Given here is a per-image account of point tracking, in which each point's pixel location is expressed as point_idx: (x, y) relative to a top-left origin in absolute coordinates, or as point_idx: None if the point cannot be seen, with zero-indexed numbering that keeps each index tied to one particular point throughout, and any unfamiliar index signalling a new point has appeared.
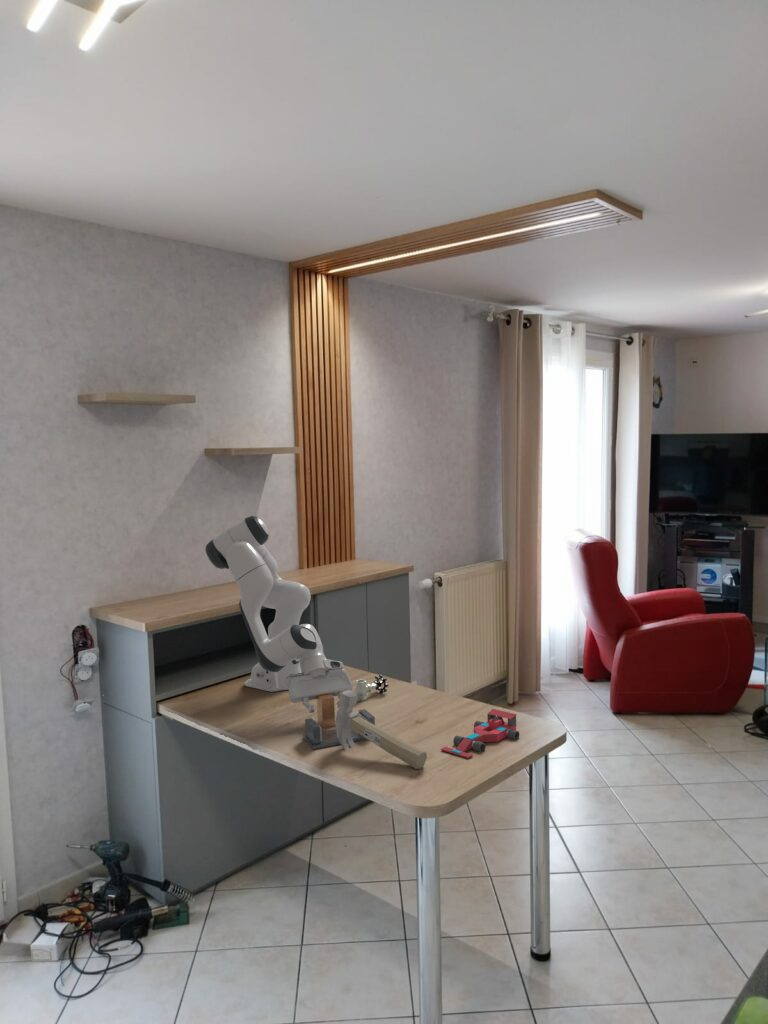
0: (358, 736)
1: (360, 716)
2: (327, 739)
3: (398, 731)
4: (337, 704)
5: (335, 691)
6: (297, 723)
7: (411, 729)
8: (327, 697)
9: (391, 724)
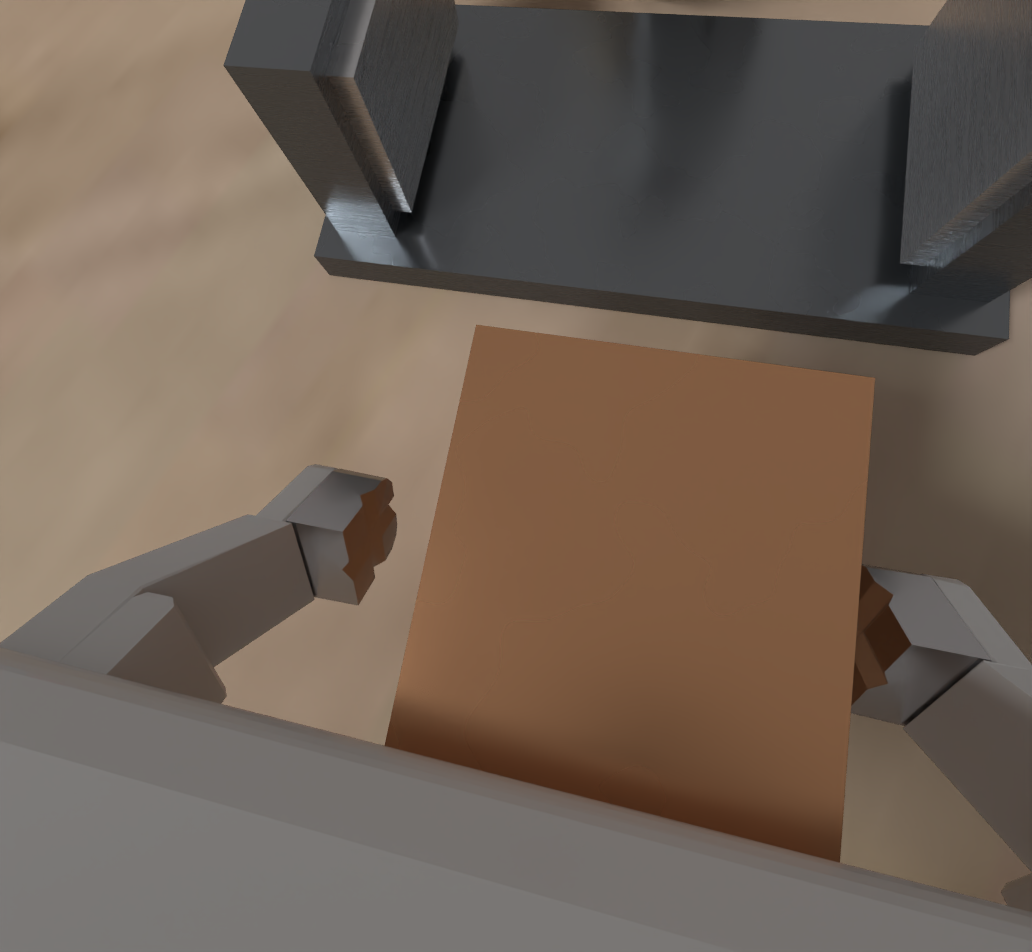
0: (543, 31)
1: (387, 9)
2: (819, 103)
3: (206, 63)
4: (369, 555)
5: (171, 691)
6: (860, 833)
7: (115, 51)
8: (639, 426)
9: (142, 210)
